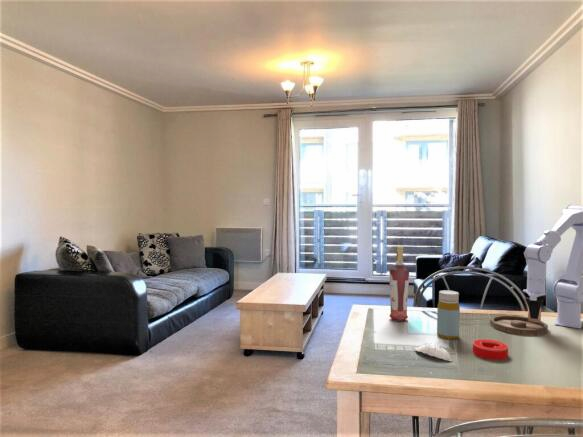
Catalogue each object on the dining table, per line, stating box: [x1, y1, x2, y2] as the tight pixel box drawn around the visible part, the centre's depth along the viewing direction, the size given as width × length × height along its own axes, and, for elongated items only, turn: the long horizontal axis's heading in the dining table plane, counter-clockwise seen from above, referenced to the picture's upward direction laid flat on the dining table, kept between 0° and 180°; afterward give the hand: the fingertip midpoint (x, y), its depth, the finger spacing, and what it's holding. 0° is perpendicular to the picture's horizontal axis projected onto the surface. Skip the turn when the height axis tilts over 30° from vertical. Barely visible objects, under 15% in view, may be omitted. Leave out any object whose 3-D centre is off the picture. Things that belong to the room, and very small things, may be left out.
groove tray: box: [489, 314, 549, 336], centre depth 160 cm, size 18×18×2 cm
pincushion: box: [414, 343, 453, 363], centre depth 131 cm, size 12×6×6 cm, turn 40°
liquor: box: [389, 245, 410, 322], centre depth 168 cm, size 7×7×28 cm
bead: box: [527, 306, 542, 323], centre depth 156 cm, size 4×4×6 cm
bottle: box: [436, 289, 461, 340], centre depth 149 cm, size 7×7×15 cm
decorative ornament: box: [472, 339, 509, 361], centre depth 133 cm, size 10×10×3 cm
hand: (535, 316), depth 156 cm, fingers closed on bead, 4 cm apart
